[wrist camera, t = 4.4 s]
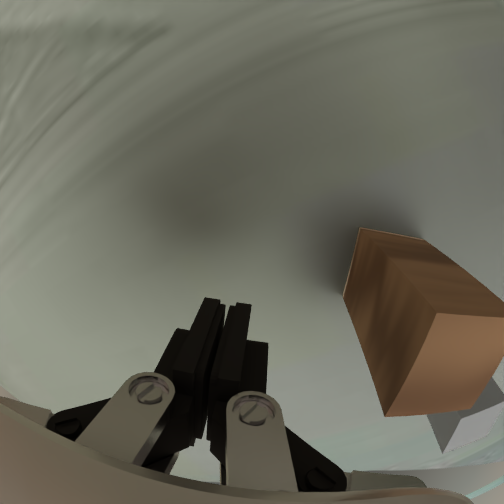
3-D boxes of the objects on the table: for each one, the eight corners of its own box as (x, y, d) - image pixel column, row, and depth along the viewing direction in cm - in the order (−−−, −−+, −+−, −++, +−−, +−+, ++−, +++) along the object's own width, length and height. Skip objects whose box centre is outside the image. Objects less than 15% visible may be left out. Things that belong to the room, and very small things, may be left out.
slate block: (431, 364, 22) (461, 418, 15) (473, 352, 21) (507, 399, 15) (420, 401, 23) (442, 453, 17) (460, 389, 23) (486, 436, 16)
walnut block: (359, 226, 19) (436, 312, 8) (423, 239, 18) (522, 318, 8) (342, 296, 20) (384, 416, 10) (403, 303, 20) (470, 408, 10)
